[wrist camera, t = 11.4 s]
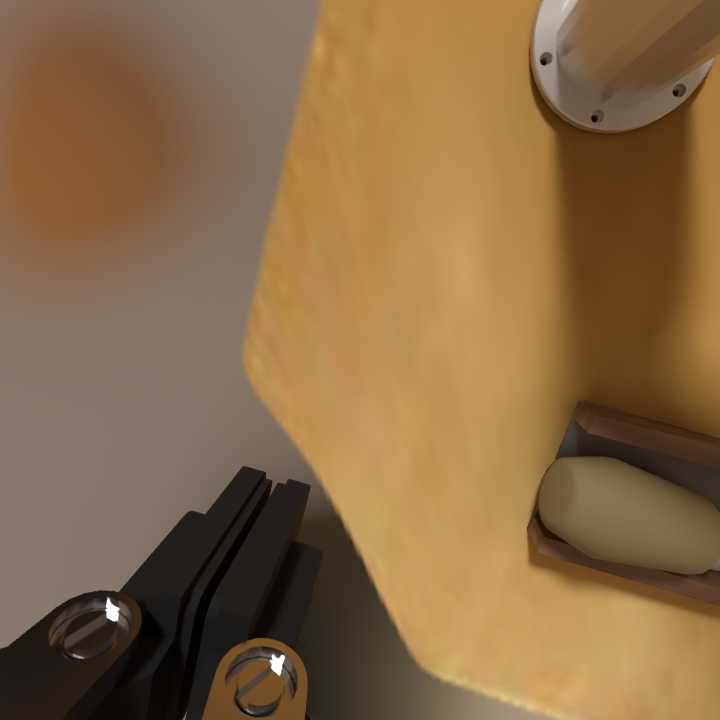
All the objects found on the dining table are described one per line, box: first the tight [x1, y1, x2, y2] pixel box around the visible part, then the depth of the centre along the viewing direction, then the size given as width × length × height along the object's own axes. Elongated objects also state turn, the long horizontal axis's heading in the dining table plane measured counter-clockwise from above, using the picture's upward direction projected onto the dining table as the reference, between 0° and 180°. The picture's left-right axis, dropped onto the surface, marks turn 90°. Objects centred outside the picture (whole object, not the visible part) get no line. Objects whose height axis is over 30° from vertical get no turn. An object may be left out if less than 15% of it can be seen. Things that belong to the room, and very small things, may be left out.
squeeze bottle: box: [538, 456, 720, 575], centre depth 36 cm, size 8×8×18 cm
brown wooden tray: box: [527, 400, 720, 605], centre depth 38 cm, size 13×22×4 cm, turn 75°
